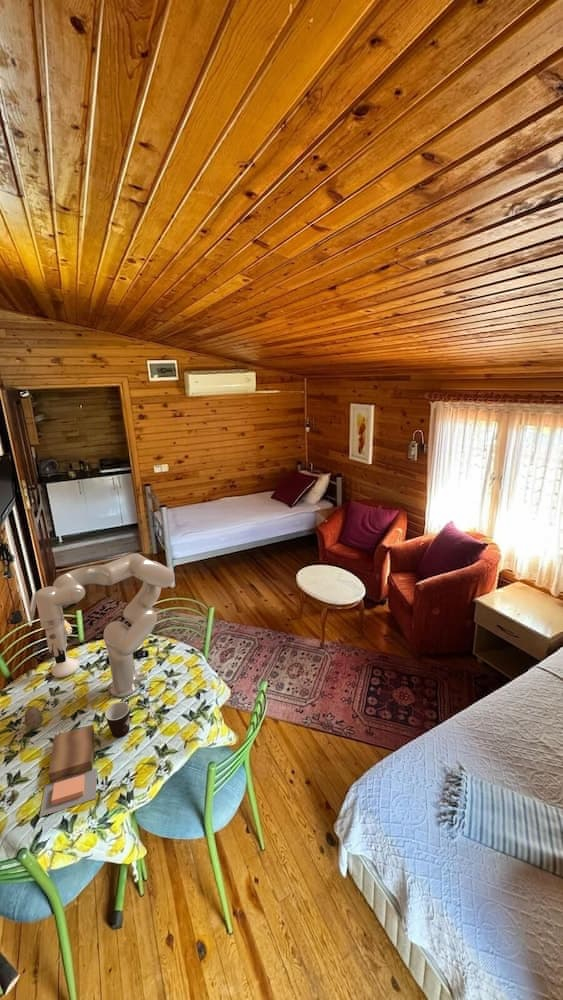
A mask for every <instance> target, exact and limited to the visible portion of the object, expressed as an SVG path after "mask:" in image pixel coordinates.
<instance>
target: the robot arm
mask: <svg viewBox="0 0 563 1000" xmlns="http://www.w3.org/2000/svg"><path fill="white" fill-rule="evenodd" d="M133 576H134V577H135V578H137V579H138V580H140V581H142V582H143V583H142V586H141V588H140V589H139V591H138V592H137V594H136V595H135V596H134V597H133V598H132V599H131V601H130V602H129V603H128V605H126V607H125V609H124V611H123V613H122V615H123V618H124V619H125V620H126V621H127V622H128V623H129V624H130V625H131V626H129V625H127V624H125V622H122V621H119V620H115V621H111V622H109V623H108V624H107V625H106V626H105V628H104V630H103V641H104V645H105V648H106V652H107V656H108V661H109V668H110V673H111V679H112V680H111V681H112V683H110V685H109V692H110V695H112V696H114V697H116V698H123V697H128V696H131V695H132V694H134V693H135V692H136V691H137V690H139V688H140V687H141V682H143V681H148V675H147V674H146V675H145V672H141V673H137V670H136V666H135V661H134V653H135V652H136V651H137V650H138V649H139V648H140V647H141V645H142V644H143V643H144V642H145V641H146V639H147V638H148V636H149V635H150V633H151V632H152V631H153V630H154V628H155V627H156V624H157V620H158V615H157V613H156V612H155V610H154V609H153V607H154V605H155V603H156V602H157V601H158V600H159V598H160V595H161V591H162V589H166V588H168V587H171V585H172V584H173V583H174V582H175V578H176V577H175V573H174V571H173V570H172V569H171V568H169V567H167V566H166V565H164V564H162V563H160V562H158V561H156V560H150V559H148V558H147V557H145V556H143V555H141V554H139V553H130V554H128V555H126V556H123V557H121V558H118V559H115V560H113V561H110V562H108V563H105V564H102V565H93V566H83V567H80V568H76V569H73V570H70V571H68V572H66V573H63V574H61V575H59V576H58V577H57V578H56V579H55V580H54V581H53V584H52V586H51V585H49V586H45V587H43V588H40V589H39V590H37V591H36V592H35V595H34V599H35V602H36V603H35V604H36V606H37V612H38V617H39V621H40V626H41V628H42V629H43V630H45V636H46V638H45V639H46V643H47V648H48V651H49V653H50V654H52V653H53V655H54V659H55V665H56V664H58V663H62V662H65V661H66V657H67V655H66V656H65V651H64V649H65V646H66V643H67V640H68V634H67V633H66V630H65V626H64V621H65V620H66V618H65V615H64V610H63V606H68V605H72V604H76V603H78V602H80V601H81V600H82V599H84V597H85V595H86V589H85V588H84V586H86V585H90V584H91V585H92V584H94V585H96V584H97V585H102V586H112V585H114V584H116V583H119V582H121V581H123V580H126V579H128V578H130V577H133Z"/></svg>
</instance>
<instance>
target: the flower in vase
mask: <svg viewBox="0 0 563 1000" xmlns="http://www.w3.org/2000/svg"><path fill="white" fill-rule="evenodd" d="M64 626H65V630H66V633H67V636H68V635H71V634H72V633H73V631H72V630H73V628H72V626H71V624H70V623H69V622H68V621H67V620H66V619H65V621H64ZM67 647H68V642H66V646H65V649H64V651H65V656H66V661H65V662H62V663H58V664H56V663H55V665H54V666H53V667H52V669H51V675H52V676H54V677H55V678H66V677H69V676H71V675H73V674H74V673H76V672H77V670H78V668H79V667H80V661H78V660H77V659H76V658H72V657H71V658H70V657H67V654H66V649H67Z"/></svg>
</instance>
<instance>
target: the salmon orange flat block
mask: <svg viewBox="0 0 563 1000" xmlns="http://www.w3.org/2000/svg"><path fill="white" fill-rule="evenodd" d="M84 786H85V776H84V775H81V776H77V777H74V778H71V779H67V780H64V781H61V782H57V783H54V788H53V794H52V800H51V801H52V805H55V804H58V803H61V802H64V801H68V800H71V799H74V798H77V797H80V796H83V795H84Z"/></svg>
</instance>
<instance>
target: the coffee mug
mask: <svg viewBox="0 0 563 1000" xmlns="http://www.w3.org/2000/svg"><path fill="white" fill-rule="evenodd" d="M130 713H131V712H130V699H128V698H126V699H125V700H124V701H118V702H114V703H112V704H111V705H109V706H108V707H107V708H106V710H105V712H104V716H105V720H106V722H107V725H108V727H109V730H110V733H111V736H112V737H113V738H114V739H122V738H124V737H126V736H127V735H129V734H128V733H130V730H131V729H130V723H131V721H130Z"/></svg>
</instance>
